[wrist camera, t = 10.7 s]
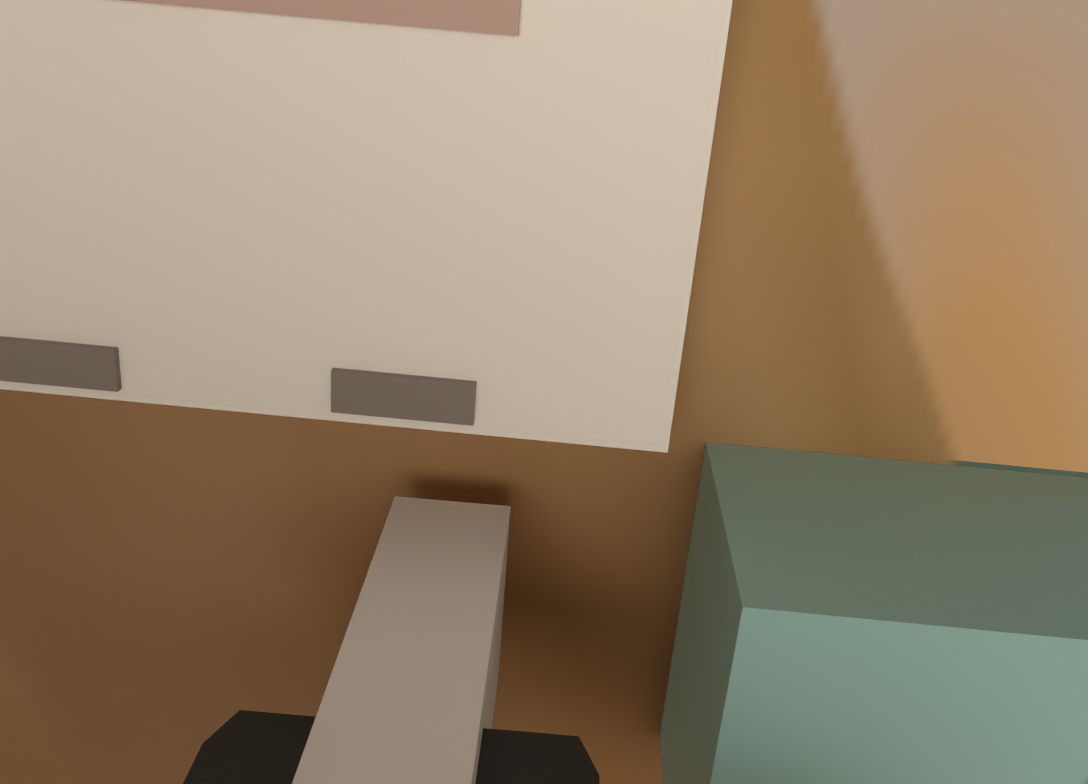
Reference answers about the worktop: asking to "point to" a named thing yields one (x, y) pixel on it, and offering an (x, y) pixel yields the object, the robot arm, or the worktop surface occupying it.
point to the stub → (880, 624)
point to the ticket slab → (359, 207)
